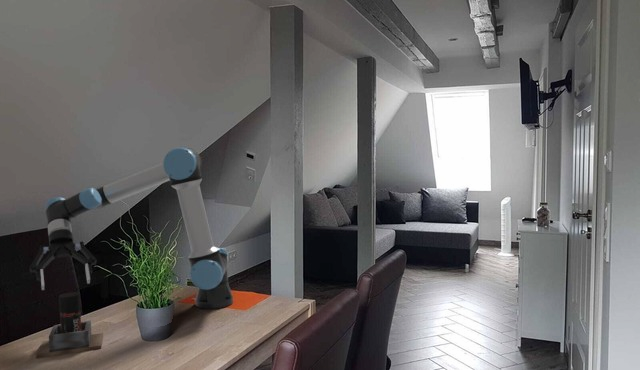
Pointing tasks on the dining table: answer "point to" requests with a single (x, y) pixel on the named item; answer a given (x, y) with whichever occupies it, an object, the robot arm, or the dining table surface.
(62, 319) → the deodorant
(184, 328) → the dining table surface
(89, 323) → the holder
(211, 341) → the dining table surface
